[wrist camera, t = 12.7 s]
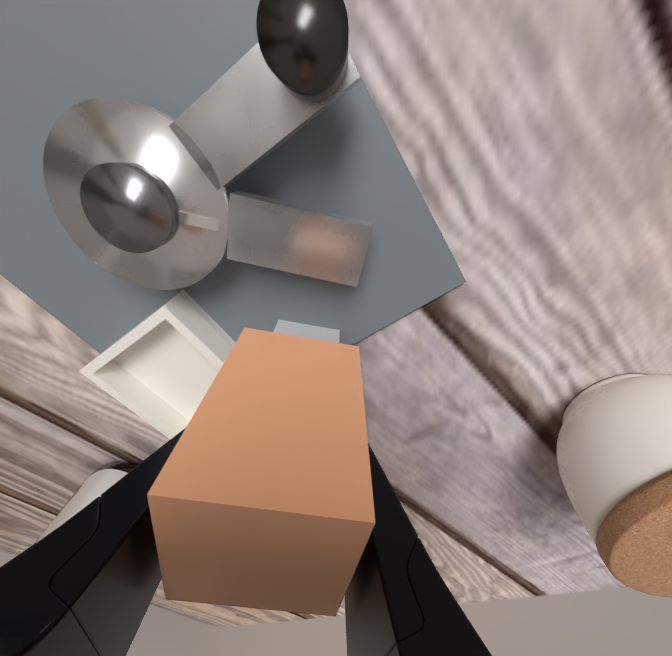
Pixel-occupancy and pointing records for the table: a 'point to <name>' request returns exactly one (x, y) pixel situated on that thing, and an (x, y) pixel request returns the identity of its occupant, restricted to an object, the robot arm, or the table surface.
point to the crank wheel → (210, 165)
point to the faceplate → (263, 179)
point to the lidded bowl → (623, 475)
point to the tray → (164, 364)
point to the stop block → (269, 481)
